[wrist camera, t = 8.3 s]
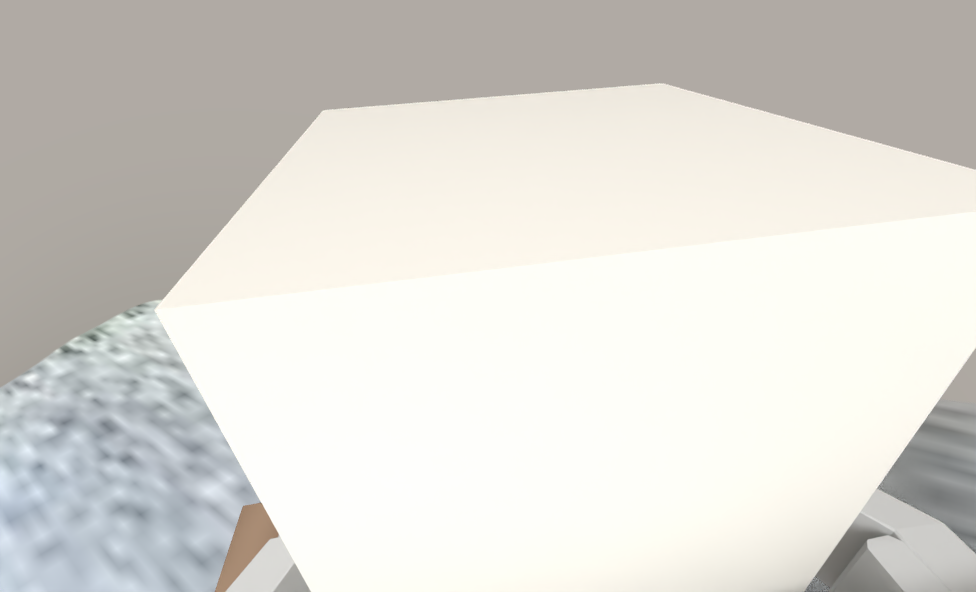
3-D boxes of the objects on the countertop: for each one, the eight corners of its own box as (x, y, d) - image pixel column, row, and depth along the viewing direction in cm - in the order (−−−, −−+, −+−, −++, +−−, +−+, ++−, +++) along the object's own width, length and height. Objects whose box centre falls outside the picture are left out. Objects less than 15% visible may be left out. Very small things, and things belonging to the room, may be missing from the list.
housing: (597, 519, 16) (663, 83, 8) (687, 757, 11) (1079, 198, 3) (426, 551, 15) (323, 109, 7) (437, 818, 10) (154, 310, 2)
